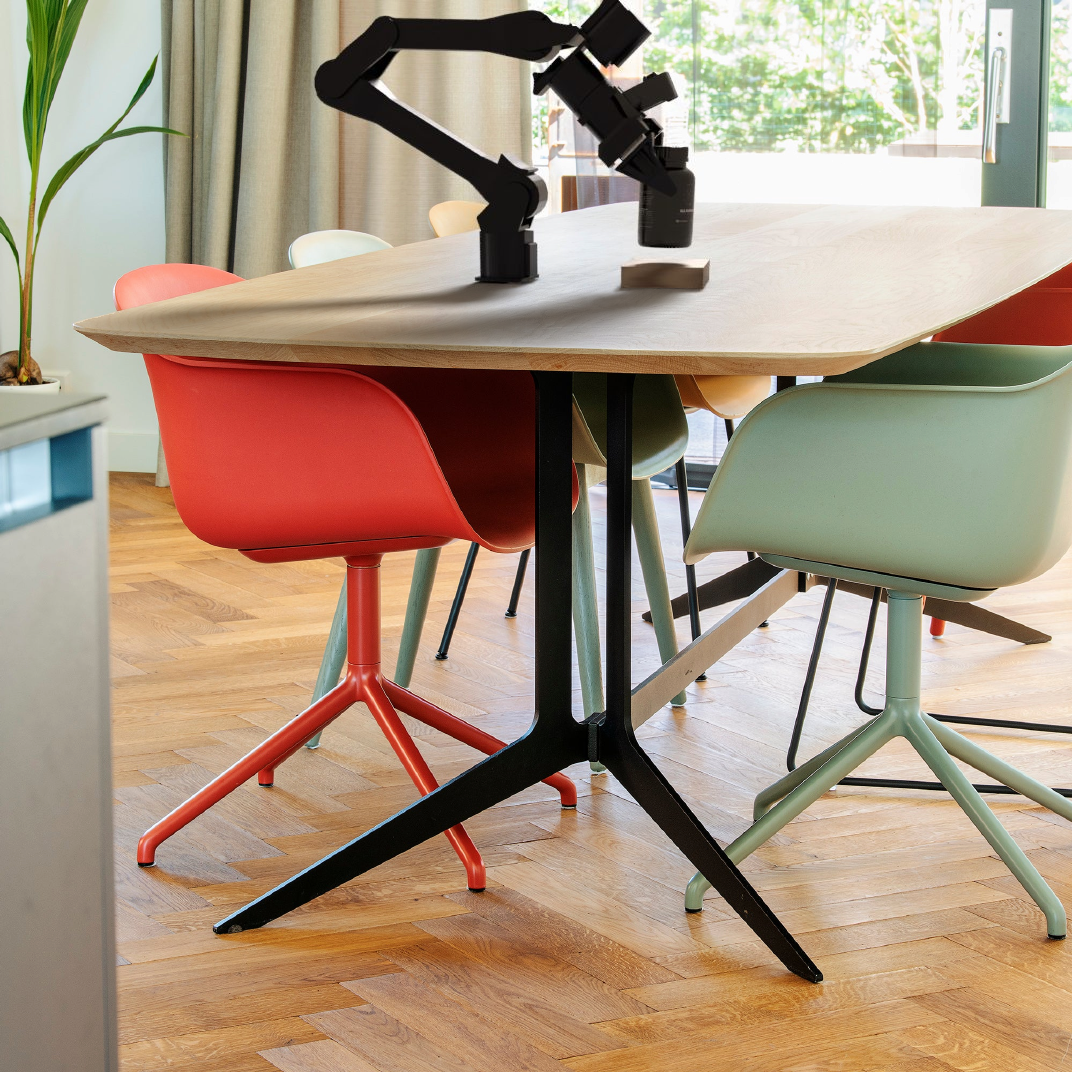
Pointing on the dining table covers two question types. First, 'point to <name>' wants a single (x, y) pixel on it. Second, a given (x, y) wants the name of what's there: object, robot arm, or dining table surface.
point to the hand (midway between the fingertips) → (678, 192)
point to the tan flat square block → (665, 273)
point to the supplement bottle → (668, 204)
